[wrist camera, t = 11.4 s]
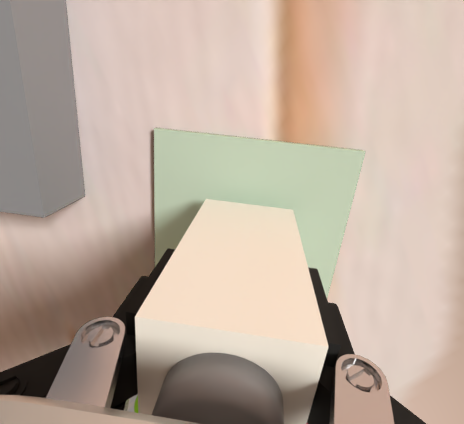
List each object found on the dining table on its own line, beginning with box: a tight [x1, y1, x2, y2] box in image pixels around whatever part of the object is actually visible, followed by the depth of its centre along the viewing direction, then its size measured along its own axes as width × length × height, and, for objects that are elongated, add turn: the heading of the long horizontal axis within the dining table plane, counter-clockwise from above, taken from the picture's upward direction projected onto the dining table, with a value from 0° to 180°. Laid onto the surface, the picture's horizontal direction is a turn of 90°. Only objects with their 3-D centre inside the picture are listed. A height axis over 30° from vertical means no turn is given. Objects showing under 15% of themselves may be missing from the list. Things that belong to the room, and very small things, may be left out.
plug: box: [135, 199, 329, 424], centre depth 11 cm, size 5×5×10 cm
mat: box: [154, 128, 365, 298], centre depth 17 cm, size 11×11×1 cm
